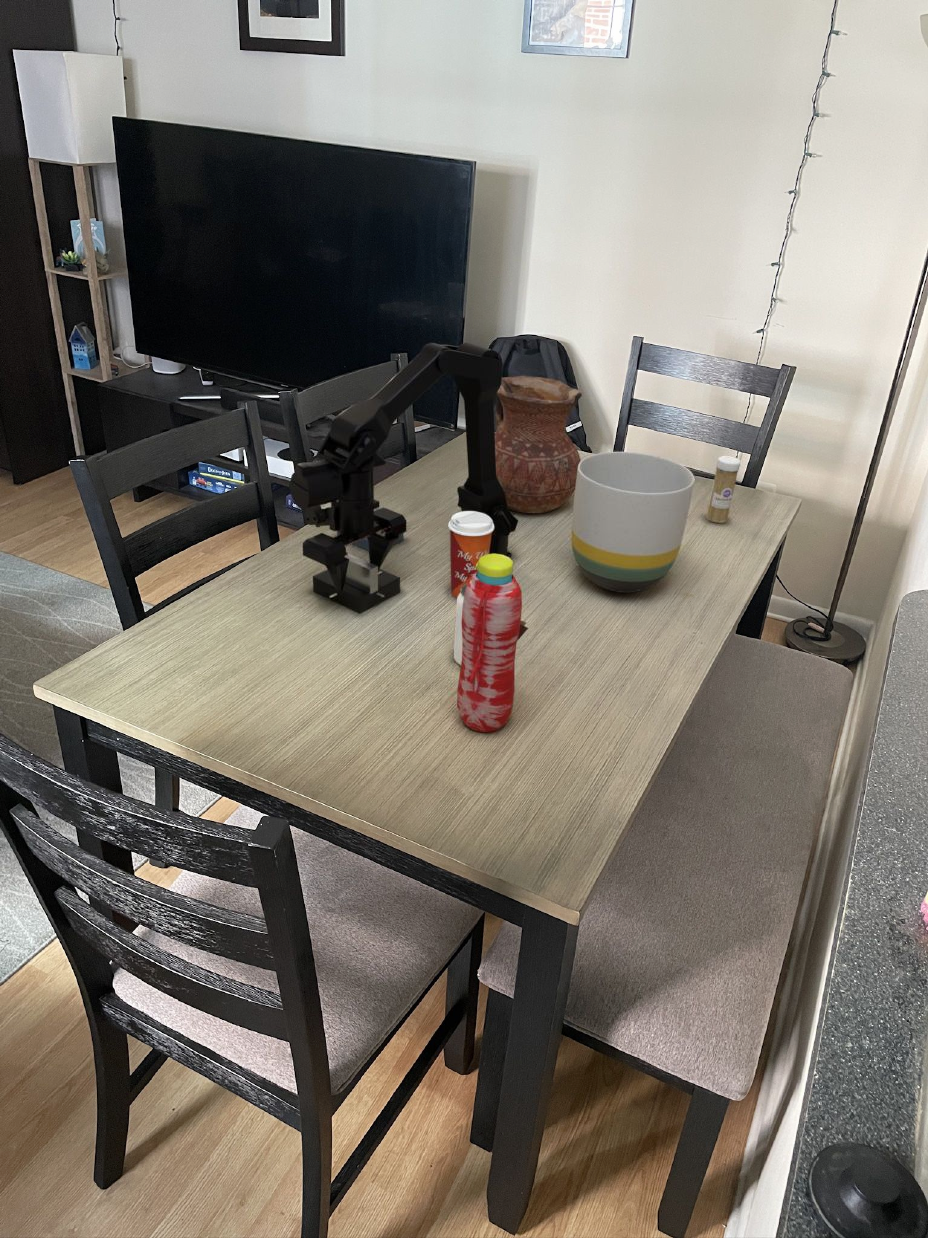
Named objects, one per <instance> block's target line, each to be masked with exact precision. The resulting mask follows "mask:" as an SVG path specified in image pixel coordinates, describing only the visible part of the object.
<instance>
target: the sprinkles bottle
mask: <svg viewBox="0 0 928 1238" xmlns="http://www.w3.org/2000/svg"><path fill="white" fill-rule="evenodd" d="M715 465H716V469H715V475H714V479H713V482H712V487H711V492H710V496H709V497H710V498H709V501H708V508H707V513H706V516H705V518H706V520H708V521H709V522H711V523H715V524H725V523H727V522H728V521H729V513H730V509H731V506H732V501H733V497H734V493H735V492H734V491H735V486H736V482H737V477H738V473H739V471H740V468H741V460H740V459H739V458H737V457H734V456H730V455H722V456H719V457H718V458H717V461H716V464H715Z"/></svg>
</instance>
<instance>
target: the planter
mask: <svg viewBox="0 0 928 1238" xmlns="http://www.w3.org/2000/svg"><path fill="white" fill-rule="evenodd" d="M694 485H695V476H694V474H693V471H691V470H690V469H688V468H687V467H686V466H684V465H683V464H680V463H678V462H676V461H674V460H671V459H669V458H665V457H662V456H658V455H654V454H648V453H642V452H634V451H632V452H631V451H607V452H606V451H605V452H598V453H594V454H591V455H589V456H585V457H584V458H582V459H581V461H580V463H579V465H578V470H577V478H576V487H575V491H574V496H573V498H574V499H573V508H572V521H571V548H572V555H573V558H574V559H575V560H574V561H575V562H576V565H577V567H578V568H579V570H580V571H581V572H582V573H583V575H584V576H585V577H586V578H587V579H588V580H589V581H591V582H592V583H594V584H595V585H597V586H598V587H600V588H603V589H605V590H609V591H612V592H617V593H635V592H640V591H644V590H646V589H648V588H650V587H653V586H654V585H656V584H657V583H659V582H661V581H662V580H664V578H665V577H666V576H667V575H668V573H669V572H670V571H671V570H672V567H673V565H674V564H675V562H676V560H677V557H678V556H679V552H680V549H681V545H682V541H683V537H684V533H685V529H686V525H687V520H688V516H689V511H690V506H691V501H692V497H693V491H694V487H695V486H694Z"/></svg>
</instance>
